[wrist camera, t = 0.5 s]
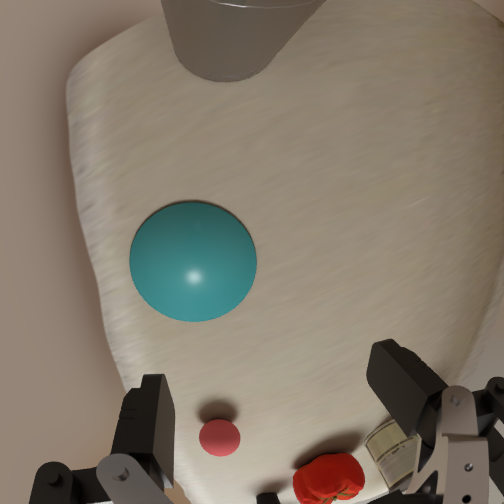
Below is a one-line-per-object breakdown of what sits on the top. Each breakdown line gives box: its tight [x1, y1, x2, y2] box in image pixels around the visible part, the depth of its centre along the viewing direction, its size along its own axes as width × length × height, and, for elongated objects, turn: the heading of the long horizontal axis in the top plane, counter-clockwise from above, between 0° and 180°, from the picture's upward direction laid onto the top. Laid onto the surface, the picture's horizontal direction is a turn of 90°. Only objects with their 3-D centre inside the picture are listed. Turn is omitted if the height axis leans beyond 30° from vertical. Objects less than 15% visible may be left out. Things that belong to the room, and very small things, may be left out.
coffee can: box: [364, 419, 419, 493], centre depth 39 cm, size 10×10×14 cm
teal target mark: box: [130, 202, 257, 322], centre depth 26 cm, size 12×12×1 cm
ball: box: [199, 419, 240, 456], centre depth 32 cm, size 6×6×6 cm
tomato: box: [293, 453, 365, 504], centre depth 40 cm, size 14×13×10 cm
